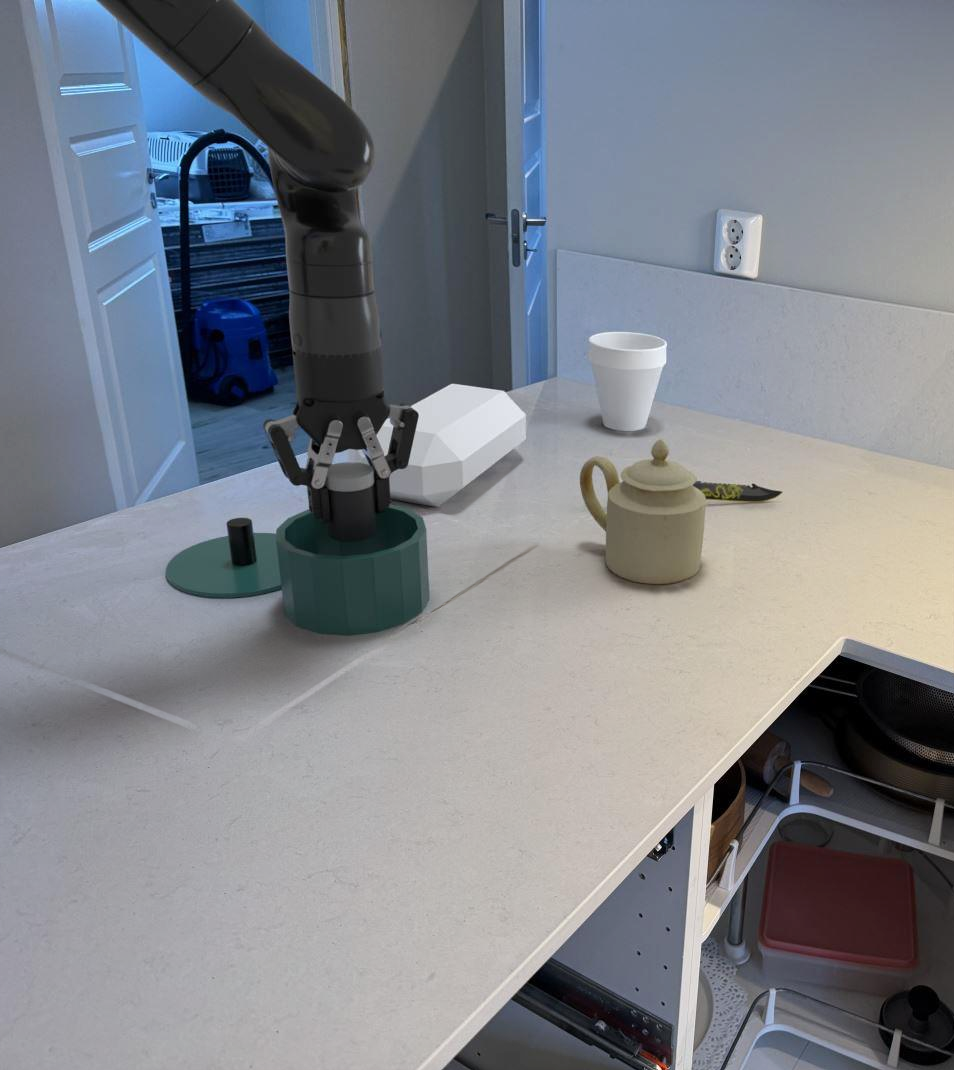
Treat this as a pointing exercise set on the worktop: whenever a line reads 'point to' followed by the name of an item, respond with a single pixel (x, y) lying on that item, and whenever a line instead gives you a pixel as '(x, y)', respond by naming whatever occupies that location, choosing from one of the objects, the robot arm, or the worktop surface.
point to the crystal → (453, 442)
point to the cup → (626, 376)
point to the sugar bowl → (649, 518)
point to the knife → (735, 492)
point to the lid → (228, 564)
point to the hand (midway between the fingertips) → (351, 515)
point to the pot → (353, 574)
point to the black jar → (351, 501)
